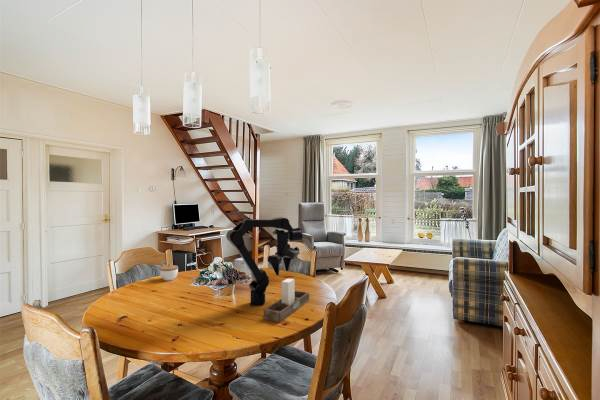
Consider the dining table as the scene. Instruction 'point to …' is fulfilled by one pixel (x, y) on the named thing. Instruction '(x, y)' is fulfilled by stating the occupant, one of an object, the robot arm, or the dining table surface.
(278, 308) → the tray
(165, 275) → the white round bowl
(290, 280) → the white rectangular block
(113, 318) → the dining table surface
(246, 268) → the light bulb box
